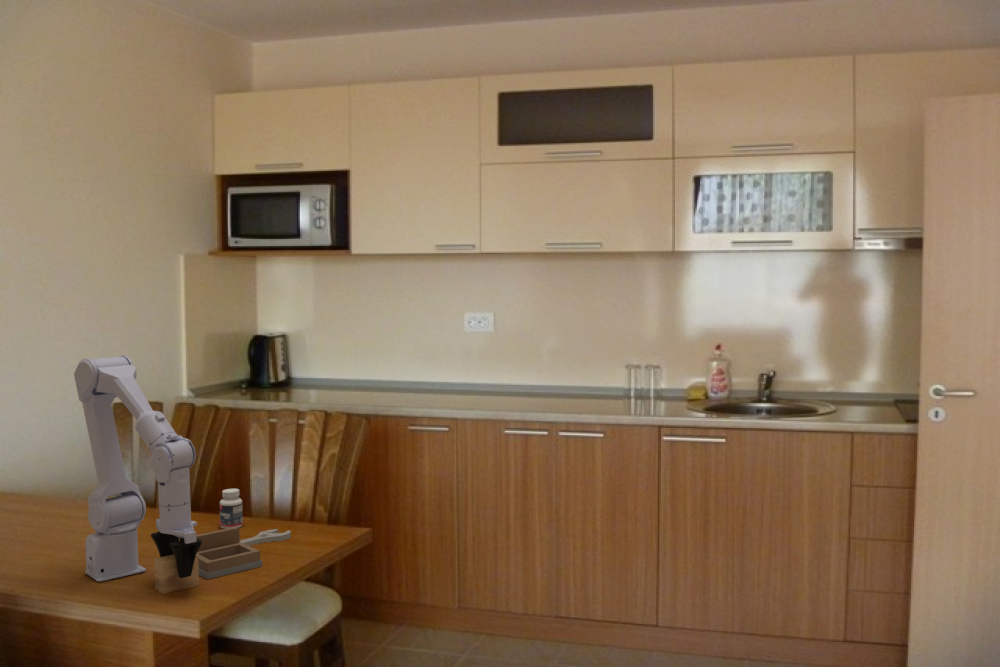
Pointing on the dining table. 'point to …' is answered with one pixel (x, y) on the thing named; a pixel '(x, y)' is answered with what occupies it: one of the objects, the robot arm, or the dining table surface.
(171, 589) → the light wooden block
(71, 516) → the dining table surface
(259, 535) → the adjustable wrench
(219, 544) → the stand
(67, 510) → the dining table surface
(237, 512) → the pill bottle
